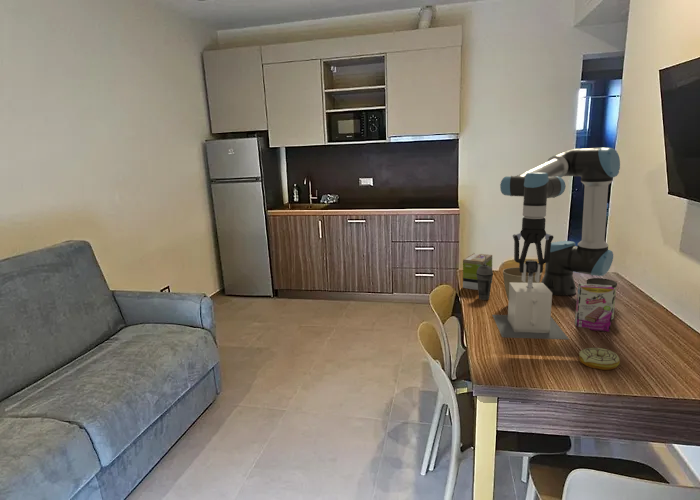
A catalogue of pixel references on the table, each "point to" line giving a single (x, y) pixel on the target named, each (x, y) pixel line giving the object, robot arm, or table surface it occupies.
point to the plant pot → (515, 278)
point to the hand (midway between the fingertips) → (530, 281)
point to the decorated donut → (599, 358)
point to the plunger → (531, 271)
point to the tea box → (474, 269)
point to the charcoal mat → (509, 333)
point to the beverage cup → (484, 281)
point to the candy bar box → (594, 306)
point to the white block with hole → (529, 307)
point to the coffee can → (604, 282)
